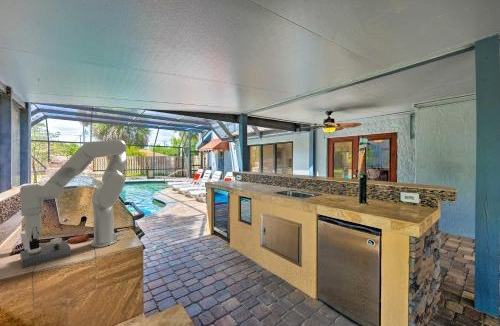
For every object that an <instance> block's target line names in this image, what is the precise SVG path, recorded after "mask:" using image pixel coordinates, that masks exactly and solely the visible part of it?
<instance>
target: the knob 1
mask: <svg viewBox="0 0 500 326" xmlns="http://www.w3.org/2000/svg"><path fill="white" fill-rule="evenodd" d="M40 251H41V246H39V248H37V249H32V250H30V249H28V254H34V253H38V252H40Z"/></svg>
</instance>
